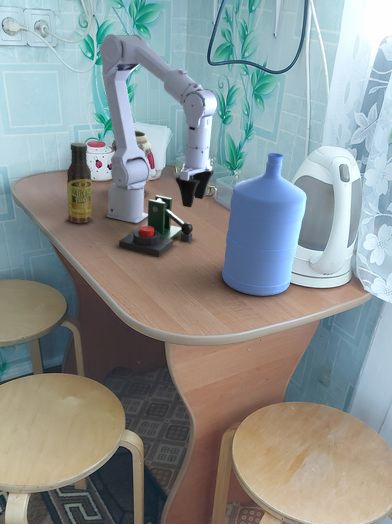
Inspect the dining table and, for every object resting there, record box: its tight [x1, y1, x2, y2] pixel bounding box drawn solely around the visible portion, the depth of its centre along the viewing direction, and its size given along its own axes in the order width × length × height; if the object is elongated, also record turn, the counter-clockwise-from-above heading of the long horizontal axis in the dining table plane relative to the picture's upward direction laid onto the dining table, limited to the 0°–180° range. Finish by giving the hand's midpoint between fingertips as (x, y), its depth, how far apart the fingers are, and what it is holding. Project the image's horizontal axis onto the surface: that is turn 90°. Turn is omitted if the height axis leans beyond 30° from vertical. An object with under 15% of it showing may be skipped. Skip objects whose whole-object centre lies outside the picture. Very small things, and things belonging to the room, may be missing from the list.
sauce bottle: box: [66, 142, 92, 224], centre depth 135 cm, size 6×6×20 cm
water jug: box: [221, 152, 307, 297], centre depth 110 cm, size 16×16×28 cm
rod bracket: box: [135, 194, 183, 241], centre depth 134 cm, size 10×9×9 cm
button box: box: [118, 228, 174, 258], centre depth 128 cm, size 11×8×4 cm
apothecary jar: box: [111, 129, 152, 197], centre depth 158 cm, size 12×12×18 cm
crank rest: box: [179, 232, 193, 243], centre depth 134 cm, size 2×2×2 cm
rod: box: [156, 198, 194, 234], centre depth 133 cm, size 12×3×3 cm, turn 68°
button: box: [138, 225, 154, 237], centre depth 127 cm, size 4×4×2 cm
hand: (193, 202), depth 130 cm, fingers open, 7 cm apart
